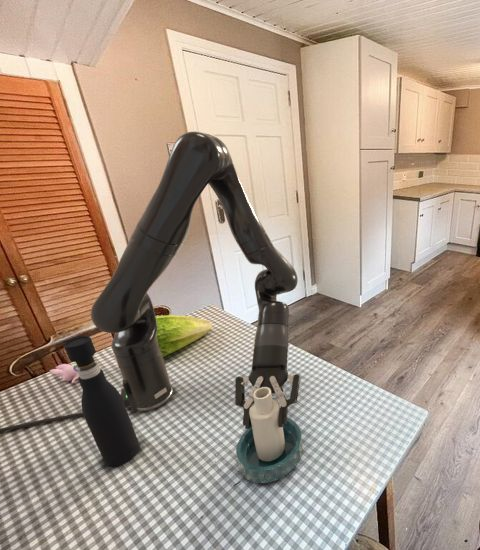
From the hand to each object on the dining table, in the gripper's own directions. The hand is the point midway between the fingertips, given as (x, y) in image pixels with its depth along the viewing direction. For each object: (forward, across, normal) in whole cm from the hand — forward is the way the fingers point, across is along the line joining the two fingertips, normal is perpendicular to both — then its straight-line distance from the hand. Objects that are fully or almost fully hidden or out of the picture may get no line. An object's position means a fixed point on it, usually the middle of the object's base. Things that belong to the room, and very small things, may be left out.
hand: (264, 427), depth 63 cm
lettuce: (-26, -41, +41) cm, 64 cm away
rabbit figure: (-14, -64, +29) cm, 72 cm away
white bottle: (+5, 0, +7) cm, 9 cm away
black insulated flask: (+5, -34, +10) cm, 36 cm away
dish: (+6, 0, +8) cm, 10 cm away
